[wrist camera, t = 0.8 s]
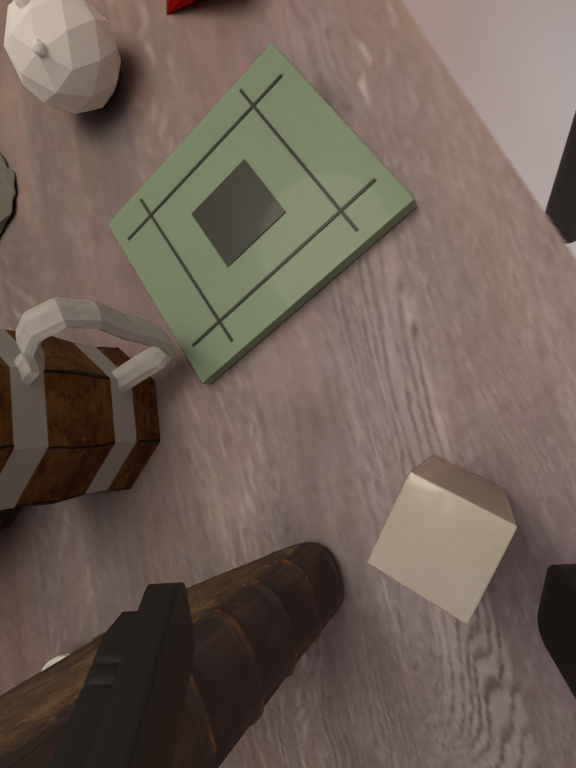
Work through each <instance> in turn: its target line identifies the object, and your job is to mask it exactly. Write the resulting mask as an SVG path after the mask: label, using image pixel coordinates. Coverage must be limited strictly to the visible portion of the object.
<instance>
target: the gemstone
mask: <svg viewBox="0 0 576 768" xmlns="http://www.w3.org/2000/svg"><path fill="white" fill-rule="evenodd" d="M194 1H196V0H167V14H169V13H171V12H173V11H175V10H178V9H180V8H182V7H184V6H186V5H188V4H190V3H192V2H194Z"/></svg>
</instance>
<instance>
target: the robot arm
mask: <svg viewBox="0 0 576 768" xmlns="http://www.w3.org/2000/svg"><path fill="white" fill-rule="evenodd" d="M537 619H538V627H539V631H540V635H541V638H542V640H543V643H544V645H545V647H546V649H547V650H548V652H549V654H550V655H551V657H552V659H553V661H554V662H555V664H556V666H557V667H558V669H559V671H560V673H561V674H562V676H563V678H564V679H565V681H566V683H567V685H568V686H569V688H570V690H571V692H572V693H573V695H574V697H575V698H576V564H561V565H551V566H549V568H548V569H547V573H546V577H545V582H544V587H543V591H542V596H541V601H540V605H539V610H538V618H537ZM194 649H195V634H194V627H193V622H192V617H191V612H190V607H189V602H188V597H187V592H186V587H185V584H184V583H183V582H181V583H162V584H149V585H148V586H147V588H146V590H145V592H144V595H143V598H142V601H141V604H140V606H139V609H138V611H131V612H122V613H121V615H120V616H119V617H118V618H117V619H116V621H115V622H114V623H113V624H112V625H111V627H110V628H109V629H108V630H107V631H106V632H105V634H104V636H103V638H102V640H101V643H100V645H99V648H98V650H97V652H96V655H95V657H94V660H93V665H91V667H90V669H89V672H88V674H87V676H86V679H85V681H84V687H83V688H81V691H80V693H79V696H78V698H77V700H76V703H75V705H74V708H73V710H72V713H71V715H70V717H69V720H68V722H67V725H66V727H65V729H64V732H63V734H62V737H61V739H60V741H59V744H58V746H57V749H56V751H55V753H54V756H53V758H52V761H51V763H50V765H49V768H172V765H173V760H174V755H175V750H176V745H177V740H178V735H179V730H180V725H181V720H182V715H183V710H184V705H185V700H186V695H187V690H188V685H189V680H190V675H191V670H192V665H193V659H194Z"/></svg>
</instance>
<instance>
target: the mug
mask: <svg viewBox="0 0 576 768" xmlns="http://www.w3.org/2000/svg"><path fill="white" fill-rule="evenodd" d="M66 328H85V329H99V330H101V331H104V332H106V333H109V334H111V335H114V336H116V337H119V338H121V339H124V340H129V341H133V342H137V343H141V344H145V345H149V346H152V347H150V348H148V349H146V350H145V351H143V352H141V353H139V354H138V355H136V356H134V357H133V358H131V359H130V358H129V357H128V356H127V355H126V354H124V353H123V352H122V351H121V350H120V349H119V348H107V347H92V346H87V345H82V344H76V343H72V342H69V341H65V340H62V339H59V338H56V337H53V336H52V335H54V334H56V333H58V332H60V331H62V330H64V329H66ZM174 353H175V350H174V346H173V343H172V341H171V340H170V338H169V337H168V335H167V334H166V332H165V331H164V330H163V329H162V328H161V326H159V325H157V324H154V323H151V322H149V321H146V320H144V319H141V318H137V317H134V316H131V315H128V314H124V313H121V312H119V311H117V310H115V309H112V308H110V307H108V306H105V305H103V304H101V303H98V302H96V301H94V300H85V299H71V298H57V297H54V298H52V299H50V300H48V301H46V302H44V303H41V304H39V305H37V306H35V307H33V308H31V309H29V310H27V311H26V312H24V313H23V314H22V317H21V319H20V322H19V324H18V327H17V329H16V331H10V330H2V329H0V510H4V509H9V508H17V507H27V506H37V505H46V504H54V503H58V502H61V501H64V500H68V499H71V498H74V497H78V496H81V495H84V494H90V493H99V492H108V491H117V490H126V489H131V487H132V486H133V484H134V482H135V481H136V479H137V477H138V476H139V474H140V473H141V471H142V469H143V468H144V466H145V465H146V463H147V461H148V460H149V458H150V457H151V455H152V453H153V452H154V450H155V449H156V447H157V445H158V444H159V442H160V434H159V424H158V413H157V403H156V392H155V382H154V380H153V379H152V378H151V377H150V376H151V375H153V374H155V373H156V372H158V371H160V370H161V369H163V368H165V366H166V365H167V364H168V362H169V361H170V360H171V358H172V357H173V355H174Z"/></svg>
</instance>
